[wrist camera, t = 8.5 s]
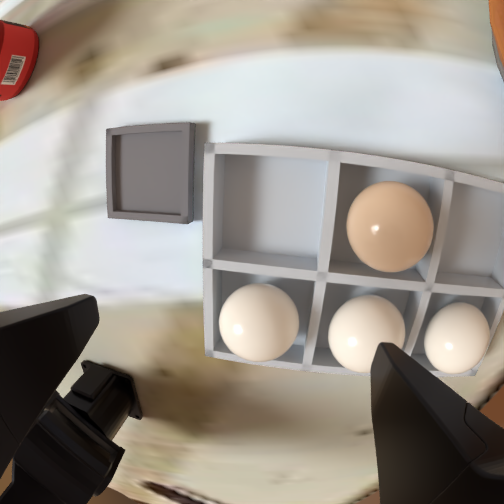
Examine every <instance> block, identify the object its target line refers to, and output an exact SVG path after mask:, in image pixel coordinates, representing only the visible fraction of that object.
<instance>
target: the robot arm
mask: <svg viewBox="0 0 504 504" xmlns="http://www.w3.org/2000/svg"><path fill="white" fill-rule="evenodd" d="M98 324H99V312H98V306H97V301H96V298H95V297H94V296H91V295H87V294H82V295H78V296H73V297H68V298H64V299H59V300H55V301H50V302H45V303H41V304H36V305H31V306H27V307H22V308H17V309H13V310H8V311H3V312H0V479H1V477H2V475H3V473H4V471H5V469H6V468H7V466H8V464H9V463H10V461H11V459H12V458H13V464H12V465H13V466H12V482H11V483H10V485H9V486H8V487H7V488H6V490H5V491H4V492H3V493H2V495H1V496H0V504H87V503H88V501H89V500H90V499H91V497H92V496H98V495H100V494H101V493H102V492H103V491H104V490H105V488H106V487H107V486H108V485H109V483H110V482H111V480H112V478H113V476H114V474H115V472H116V469H117V467H118V465H119V463H120V461H121V459H122V456H123V454H124V452H125V449H123V448H122V447H119V446H118V445H117V444H115V443H114V442H113V441H112V440H113V438H114V437H115V435H116V434H117V432H118V431H119V429H120V428H121V426H122V425H123V423H124V422H125V420H126V419H127V417H128V416H130V417H133V418H135V419H139V420H141V419H142V417H143V415H142V411H141V408H140V404H139V401H138V397H137V393H136V390H135V386H134V382H133V379H132V378H131V377H130V376H128V375H125V374H122V373H119V372H116V371H113V370H110V369H107V368H105V367H102V366H99V365H96V364H93V363H91V362H88V361H85V360H84V361H83V362H82V363H81V366H82V369H83V372H84V374H83V375H82V376H81V377H80V378H79V379H78V380H77V381H76V382H75V383H74V384H73V385H72V387H71V391H70V392H69V393H68V394H67V395H66V396H65V397H64V398H62V397H61V396H60V395H59V393H58V392H57V391H56V389H57V387H58V386H59V384H60V383H61V381H62V380H63V379H64V377H65V376H66V374H67V373H68V372H69V370H70V369H71V367H72V366H73V365H74V363H75V362H76V360H77V359H78V357H79V356H80V354H81V353H82V351H83V349H84V348H85V346H86V344H87V343H88V341H89V339H90V338H91V336H92V334H93V333H94V331H95V329H96V328H97V326H98ZM370 376H371V412H372V423H373V430H374V439H375V447H376V457H377V467H378V478H379V492H380V504H504V429H503V428H502V427H500V426H499V425H497V424H496V423H495V422H493V421H492V420H490V419H489V418H488V417H486V416H485V415H484V414H482V413H481V412H480V411H478V410H477V409H476V408H475V407H473V406H472V405H471V404H470V403H467V401H466V400H465V399H463V398H462V397H461V396H460V395H458V394H457V393H456V392H455V391H453V390H452V389H451V388H450V387H448V386H447V385H446V384H445V383H443V382H442V381H441V380H440V379H438V378H437V377H436V376H435V375H433V374H432V373H431V372H429V371H428V370H427V369H426V368H424V367H423V366H422V365H421V364H419V363H418V362H417V361H416V360H414V359H413V358H412V357H410V356H409V355H408V354H407V353H405V352H404V351H403V350H401V349H400V348H399V347H398V346H396V345H395V344H394V343H391V342H380V343H379V344H378V346H377V349H376V352H375V355H374V358H373V361H372V364H371V369H370Z"/></svg>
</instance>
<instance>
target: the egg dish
mask: <svg viewBox="0 0 504 504" xmlns="http://www.w3.org/2000/svg"><path fill="white" fill-rule="evenodd" d="M194 141H195V123H168V124H152V125H139V126H128V127H118V128H109V129H106V189H107V211H108V218H115V219H129V220H142V221H155V222H168V223H180V224H189V223H191V222H192V221H193V177H194Z"/></svg>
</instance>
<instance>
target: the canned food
mask: <svg viewBox="0 0 504 504" xmlns="http://www.w3.org/2000/svg"><path fill="white" fill-rule="evenodd" d="M38 50H39V39H38V35H37V33H36V32H35V31H34V30H33V29H32V28H31V27H29V26H26V25H21V24H17V23H13V22H8V21H3V20H0V101H4V100H8V99H10V98H13V97H15V96H16V95H17V94H19V93H20V92H21V90H22V89H23V88H24V86H25V85H26V83H27V82H28V80H29V78H30V76H31V74H32V72H33V69H34V66H35V63H36V60H37V56H38Z"/></svg>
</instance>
